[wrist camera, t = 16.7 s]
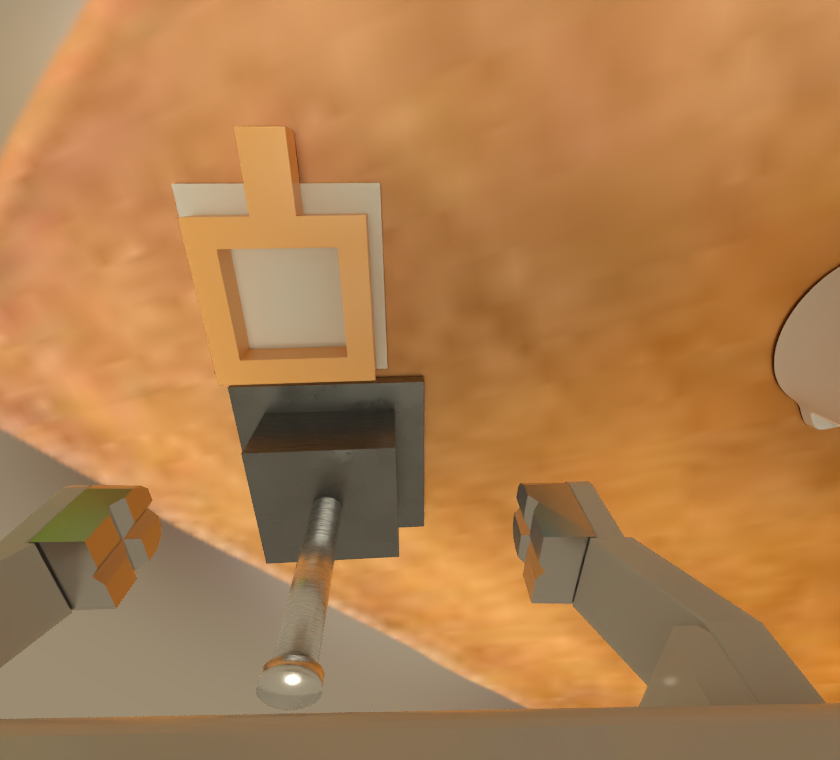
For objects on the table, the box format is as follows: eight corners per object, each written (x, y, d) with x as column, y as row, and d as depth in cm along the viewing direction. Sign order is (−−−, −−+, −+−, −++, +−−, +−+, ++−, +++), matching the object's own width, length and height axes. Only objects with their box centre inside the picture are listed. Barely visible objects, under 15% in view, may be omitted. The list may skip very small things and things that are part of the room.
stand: (422, 376, 35) (454, 569, 17) (423, 517, 42) (445, 761, 24) (233, 381, 34) (60, 590, 17) (264, 524, 41) (166, 782, 23)
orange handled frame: (362, 131, 27) (360, 126, 25) (376, 368, 34) (375, 380, 32) (175, 131, 26) (155, 126, 24) (229, 372, 34) (218, 385, 31)
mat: (380, 182, 29) (379, 183, 28) (387, 366, 35) (387, 368, 34) (174, 183, 28) (171, 183, 28) (218, 370, 34) (216, 373, 34)
